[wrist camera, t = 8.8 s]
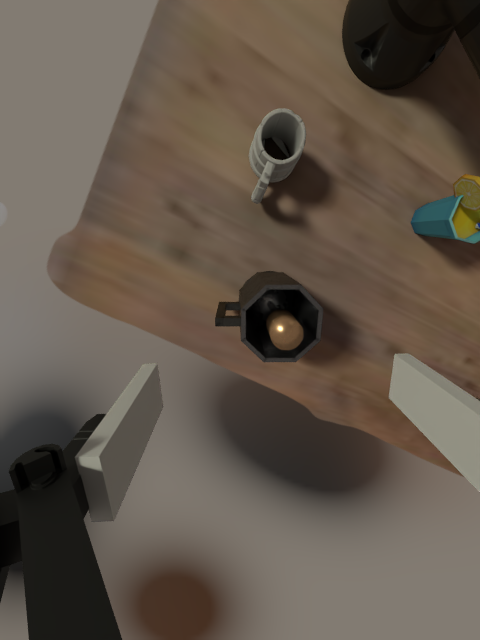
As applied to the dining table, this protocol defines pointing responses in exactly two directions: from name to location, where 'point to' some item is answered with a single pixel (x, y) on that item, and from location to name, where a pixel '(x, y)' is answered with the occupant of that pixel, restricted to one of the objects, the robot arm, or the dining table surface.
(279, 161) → the mug
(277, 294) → the plunger
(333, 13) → the dining table surface
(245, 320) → the press body
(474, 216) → the cup
